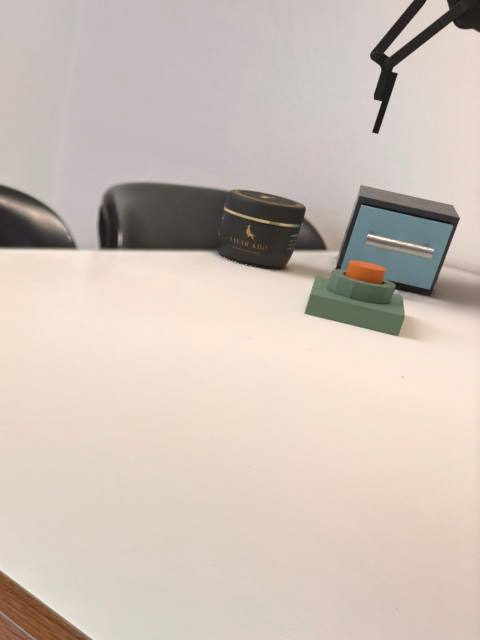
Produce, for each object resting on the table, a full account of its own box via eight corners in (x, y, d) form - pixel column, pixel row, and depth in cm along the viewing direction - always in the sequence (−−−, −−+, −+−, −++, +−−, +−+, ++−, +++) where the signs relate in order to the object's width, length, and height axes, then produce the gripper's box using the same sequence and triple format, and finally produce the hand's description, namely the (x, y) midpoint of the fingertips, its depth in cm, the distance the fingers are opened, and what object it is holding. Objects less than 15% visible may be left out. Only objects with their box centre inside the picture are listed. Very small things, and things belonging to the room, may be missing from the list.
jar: (204, 255, 134) (221, 191, 131) (221, 246, 143) (237, 185, 139) (282, 275, 132) (301, 210, 128) (294, 264, 140) (312, 203, 136)
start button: (381, 289, 115) (386, 272, 114) (344, 280, 116) (349, 263, 115) (380, 282, 118) (386, 266, 118) (345, 274, 119) (350, 258, 118)
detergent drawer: (431, 298, 131) (456, 232, 127) (339, 276, 133) (360, 211, 129) (425, 272, 147) (447, 213, 143) (343, 253, 149) (362, 194, 145)
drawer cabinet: (431, 295, 138) (460, 218, 133) (334, 272, 140) (359, 195, 135) (426, 277, 150) (453, 205, 145) (337, 256, 152) (360, 184, 147)
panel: (397, 336, 113) (411, 298, 111) (304, 314, 115) (316, 276, 113) (395, 314, 123) (408, 279, 121) (310, 294, 125) (321, 259, 123)
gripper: (391, -91, 115) (326, 124, 126) (632, -48, 111) (543, 170, 122) (391, -83, 121) (329, 121, 132) (619, -42, 117) (535, 165, 128)
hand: (431, 145), depth 127 cm, fingers open, 13 cm apart
